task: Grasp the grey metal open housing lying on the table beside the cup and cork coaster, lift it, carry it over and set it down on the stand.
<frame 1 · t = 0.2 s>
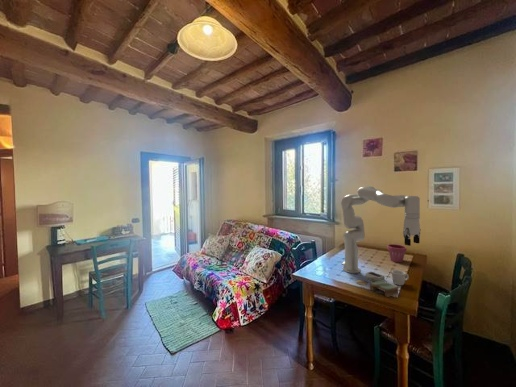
hand: (412, 244, 137), 31 cm above the table, fingers open, 9 cm apart
cup: (400, 283, 152), on the table
stand: (383, 291, 142), on the table
plant pot: (396, 260, 197), on the table
coaster: (361, 282, 154), on the table
housing: (375, 281, 157), on the table
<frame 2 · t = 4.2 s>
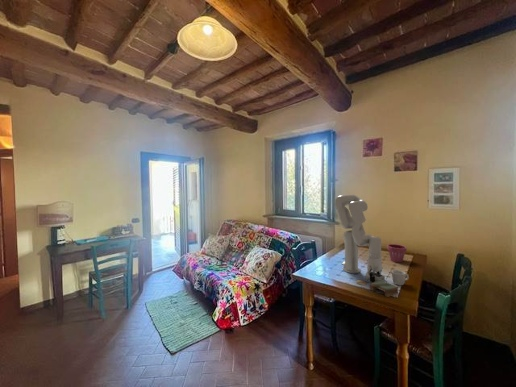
hand: (375, 280, 156), 1 cm above the table, fingers closed on housing, 6 cm apart
housing: (375, 281, 156), on the table, touching gripper
everything else where it was.
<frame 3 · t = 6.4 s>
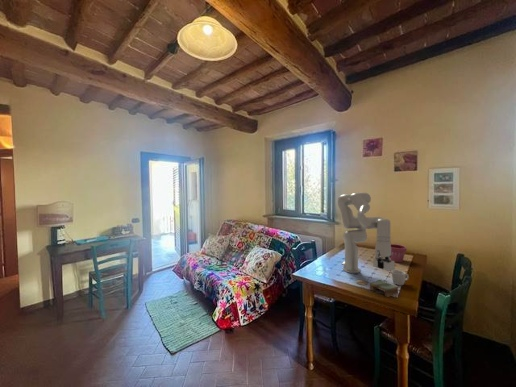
hand: (383, 266, 141), 16 cm above the table, fingers closed on housing, 6 cm apart
housing: (383, 267, 141), point 15 cm above the table, touching gripper
everything else where it was.
when the fingers open (6 cm above the table, at t = 9.0 s): housing drops 1 cm, resting on stand.
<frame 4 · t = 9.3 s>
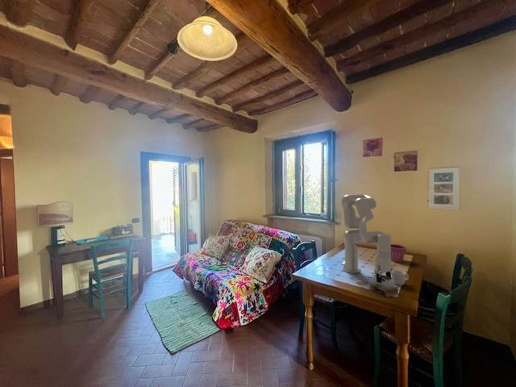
hand: (383, 280, 141), 7 cm above the table, fingers open, 9 cm apart
housing: (383, 284, 142), point 4 cm above the table, touching stand
everything else where it was.
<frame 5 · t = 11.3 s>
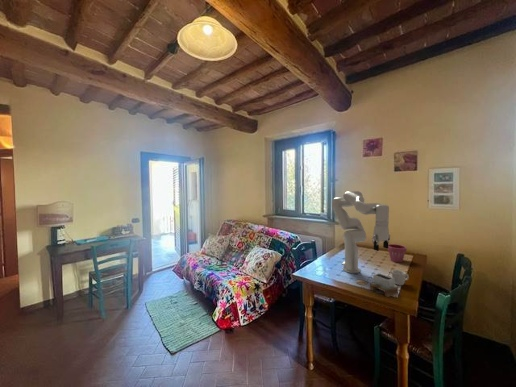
hand: (380, 249, 148), 25 cm above the table, fingers open, 9 cm apart
nothing on the table moved.
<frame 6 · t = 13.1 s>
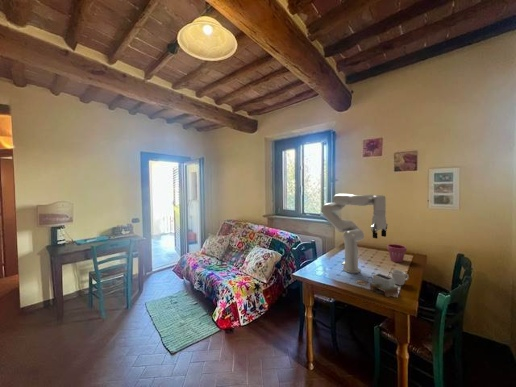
hand: (379, 237, 158), 30 cm above the table, fingers open, 9 cm apart
nothing on the table moved.
at the end: housing inside the target area on the stand (0.1 cm from its centre), point 4.2 cm above the stand's base; housing tilted 0°; the gripper is holding nothing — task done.
